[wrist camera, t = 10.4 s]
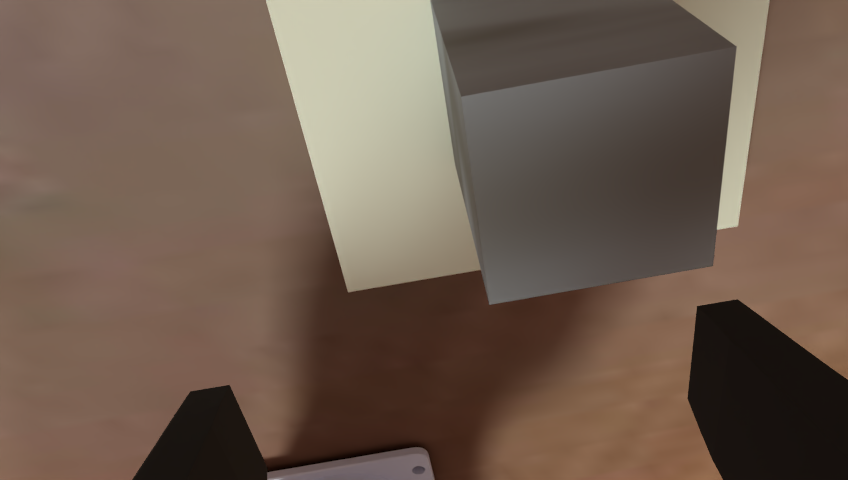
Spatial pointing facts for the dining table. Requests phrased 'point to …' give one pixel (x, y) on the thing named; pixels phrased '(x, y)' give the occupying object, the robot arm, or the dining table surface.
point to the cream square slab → (430, 129)
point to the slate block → (585, 138)
